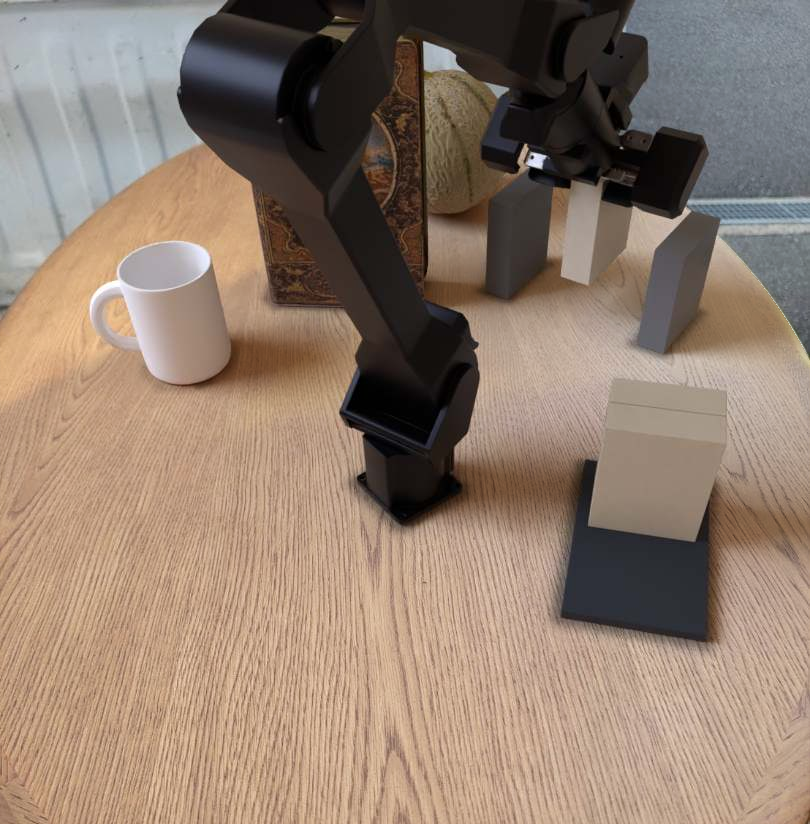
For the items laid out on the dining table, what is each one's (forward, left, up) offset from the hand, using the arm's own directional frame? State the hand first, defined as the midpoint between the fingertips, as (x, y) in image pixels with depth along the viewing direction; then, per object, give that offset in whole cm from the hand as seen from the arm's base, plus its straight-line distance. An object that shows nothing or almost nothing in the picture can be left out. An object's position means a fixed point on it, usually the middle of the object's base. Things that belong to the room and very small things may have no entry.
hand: (610, 191), depth 81 cm
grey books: (-1, 0, -11) cm, 11 cm away
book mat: (-21, -26, -11) cm, 36 cm away
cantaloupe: (0, +25, -11) cm, 27 cm away
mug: (-39, +18, -11) cm, 45 cm away
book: (-19, +17, -11) cm, 28 cm away
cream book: (-1, 0, -7) cm, 7 cm away
